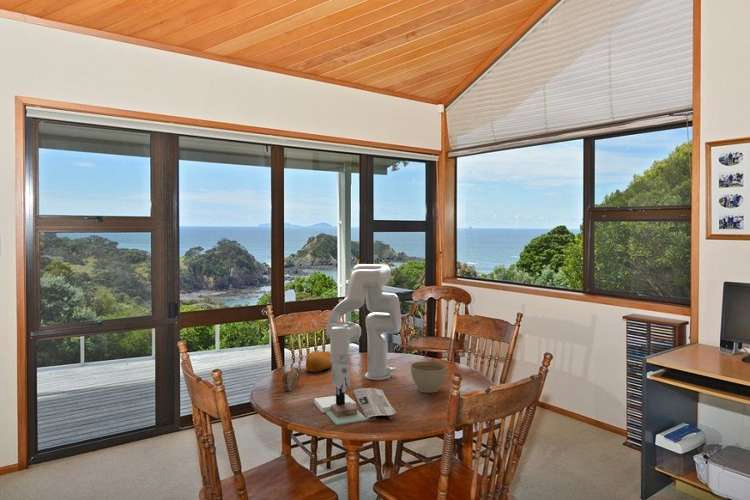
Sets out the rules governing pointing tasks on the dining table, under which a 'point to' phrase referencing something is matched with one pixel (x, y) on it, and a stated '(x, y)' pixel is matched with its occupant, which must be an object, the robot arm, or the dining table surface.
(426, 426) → the dining table surface
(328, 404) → the white flat block
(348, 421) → the mat
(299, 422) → the dining table surface
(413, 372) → the planter bowl
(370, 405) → the newspaper
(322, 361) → the bread
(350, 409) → the walnut tile
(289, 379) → the tin
